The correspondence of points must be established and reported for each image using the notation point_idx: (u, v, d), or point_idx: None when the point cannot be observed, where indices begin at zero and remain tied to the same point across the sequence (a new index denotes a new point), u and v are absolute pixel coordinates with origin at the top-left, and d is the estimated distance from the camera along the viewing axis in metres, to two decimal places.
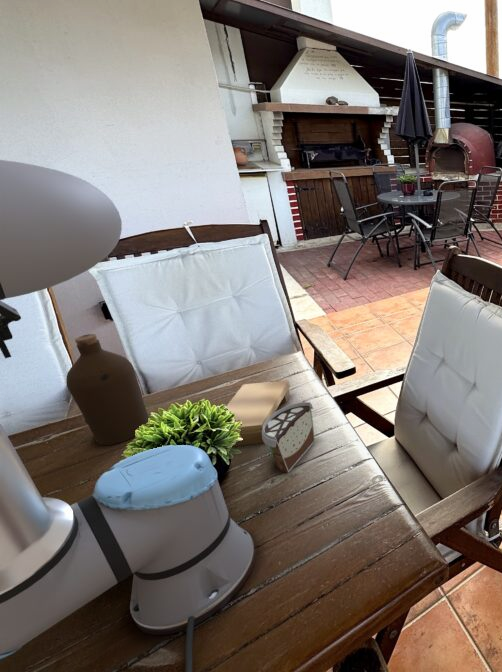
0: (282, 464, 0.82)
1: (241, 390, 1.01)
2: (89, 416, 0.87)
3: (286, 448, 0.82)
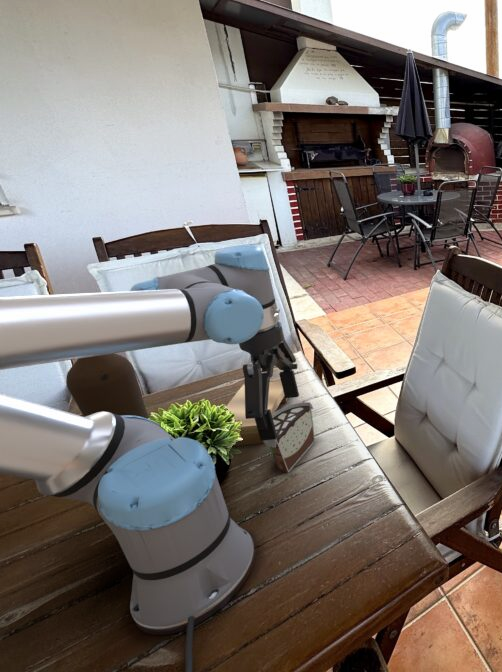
0: (282, 464, 0.82)
1: (241, 390, 1.01)
2: None
3: (286, 448, 0.82)
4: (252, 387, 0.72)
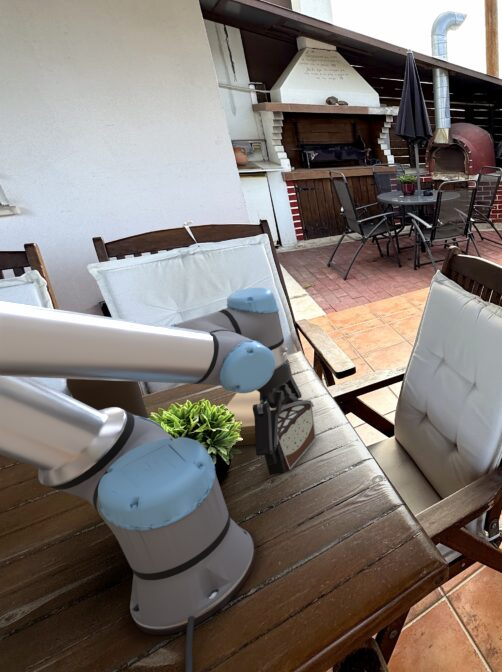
0: (284, 461, 0.82)
1: None
2: None
3: (288, 445, 0.82)
4: (261, 426, 0.75)
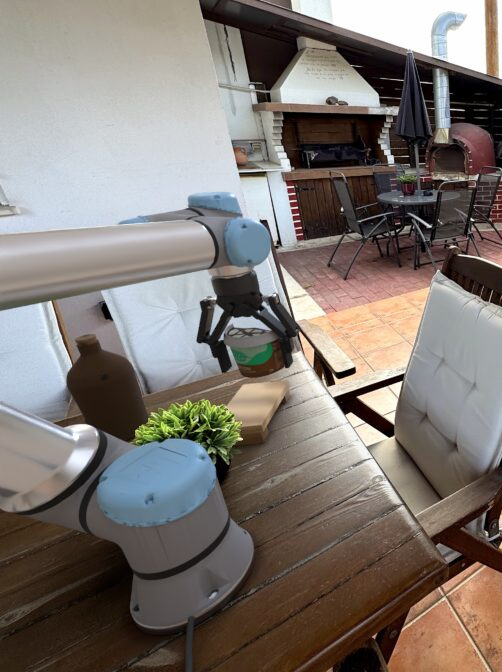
0: (280, 359, 0.87)
1: (241, 390, 1.01)
2: (88, 416, 0.87)
3: None
4: (284, 312, 0.83)
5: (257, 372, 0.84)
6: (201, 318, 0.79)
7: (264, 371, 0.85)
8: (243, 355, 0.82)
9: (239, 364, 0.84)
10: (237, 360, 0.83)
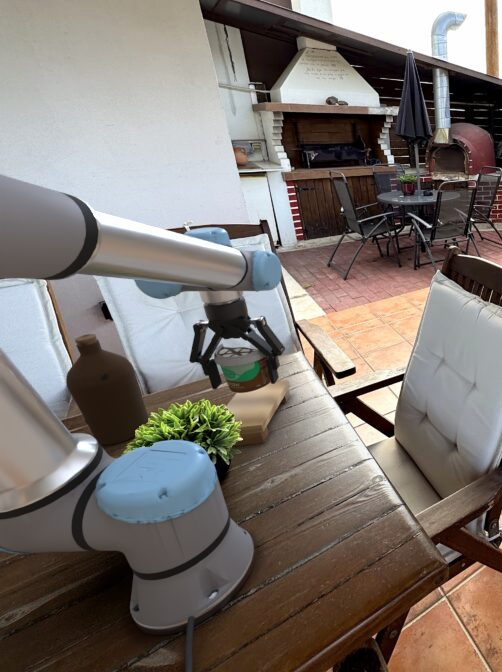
0: (267, 375, 0.96)
1: None
2: (88, 416, 0.87)
3: None
4: (270, 333, 0.91)
5: (245, 388, 0.93)
6: (194, 340, 0.88)
7: (252, 387, 0.93)
8: (232, 372, 0.91)
9: (229, 381, 0.92)
10: (227, 377, 0.92)
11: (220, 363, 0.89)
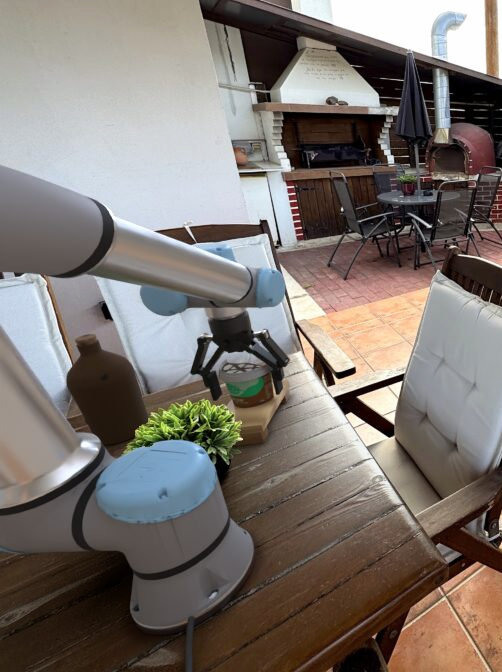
0: (270, 390, 0.97)
1: None
2: (88, 416, 0.87)
3: None
4: (274, 345, 0.93)
5: (249, 403, 0.94)
6: (197, 353, 0.89)
7: (255, 402, 0.95)
8: (236, 388, 0.92)
9: (233, 396, 0.94)
10: (231, 393, 0.93)
11: (224, 379, 0.91)
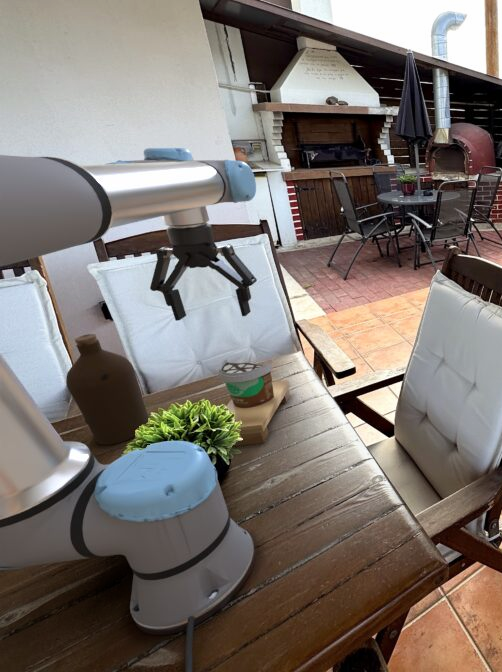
0: (270, 390, 0.97)
1: None
2: (88, 416, 0.87)
3: None
4: (239, 262, 0.89)
5: (249, 403, 0.94)
6: (157, 266, 0.85)
7: (255, 402, 0.95)
8: (236, 388, 0.92)
9: (233, 396, 0.94)
10: (231, 393, 0.93)
11: (224, 379, 0.91)
